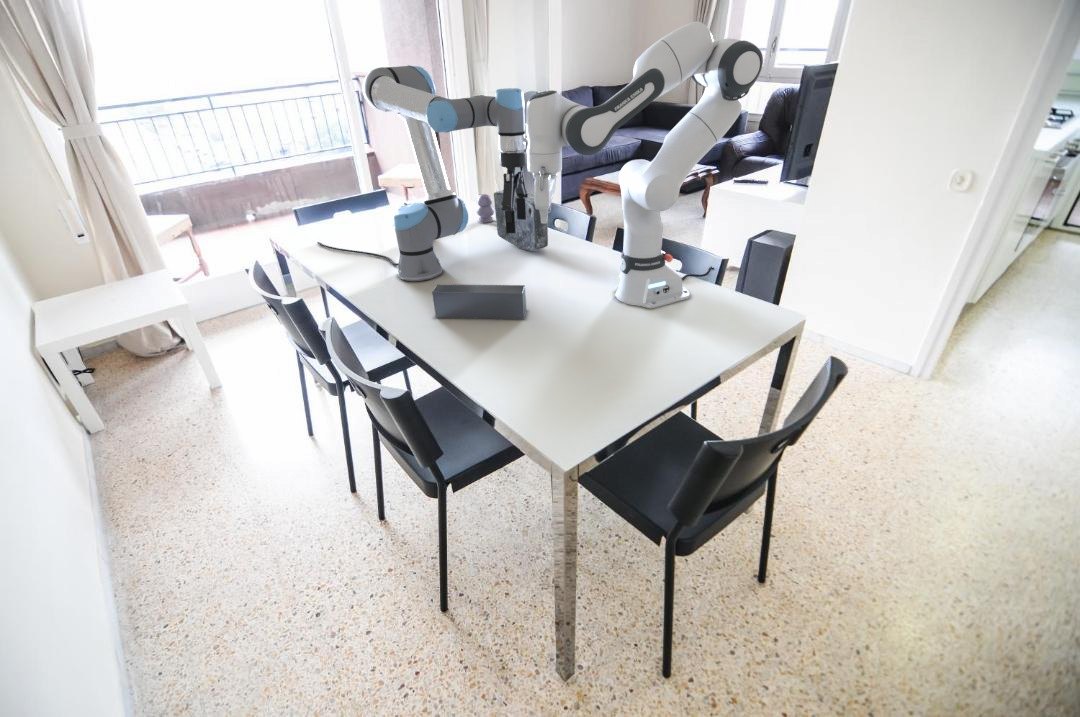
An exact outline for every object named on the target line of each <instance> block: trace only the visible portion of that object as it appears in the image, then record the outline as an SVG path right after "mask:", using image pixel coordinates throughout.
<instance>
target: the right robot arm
mask: <svg viewBox="0 0 1080 717" xmlns="http://www.w3.org/2000/svg"><path fill="white" fill-rule="evenodd" d="M763 65H764V55H763V53H762V51H761V49H760V48H759V47H758V45H756V44H754V43H753V42H751V41H748V40H740V39H736V38H727V37H726V38H713V35H712V32H711V30H710V29H709V27H708V26H707V25H706V24H705V23H703V22H701V21H692V22H691V21H690V22H689V23H687V24H684V25H682V26H680V27H678V28H676V29H674V30H673V31H671V32H668V34H666V35H664V36H663V37H661V38H659V39H658V40H657V41H656V42H654V43H653V44H652V45H651V46H649V47H648V48H647V49H645V50H644V51H643V52H642V54H640V55H639V56H638V58H637V59H636V60H635V63H634V65H633V71H632V75H633V77H632V79H631V81H630V82H628V84H627V85H626V86H624V87H622V89H620V90H618V92H616V93H615V94H613V95H612V96H611V97H610V98H609V99H607V100H606V101H605V102H603V103H602V104H599V105H596V106H591V107H590V106H586V105H583V104H580V103H577V102H574V101H572V100H571V99H568V98H567V97H565V96H564V95H562V94H561V93H559V92H558V91H557V90H552V89H551V90H545V91H540V92H537V93H534V94H532V95H531V96H530V97H529V98H528V100H527V103H526V106H525V136H526V138H527V146H526V162H527V163H526V165H527V172H528V173H530V174H532V178H533V179H534V188H533V189H534V190H533V191H534V195H535V208H536V209H538V210H539V212H540V217H541V223H542V224H546V223H547V222H548V223H549V214H551V212H552V201H553V197H554V194H555V191H556V186H557V178H558V173H559V172H562V170H563V147H564V146H570V147H571V149H572V150H573V151H575V153H577V154H579V155H582V156H592V155H596V154H598V153H600V152H601V151H602V150H603V149H605V147H606V146H607V144H608V143H609V141H610V140H611V138H612V137H613V136H614V134H615V133H616V131H618V130H619V129H620V128H621V127H622V126H623V125H625V124H626V123H627V122H628V121H630V120H631V119H632V118H634V117H635V116H636V115H638V114H639V113H640V112H642V110H644V109H645V108H647V107H648V106H649V105H650V104H651V103H652V102H654V101H655V100H657V99H659V98H660V97H662V96H664V95H665V94H667V93H669V92H670V91H671V90H674V89H675V88H677V86H678V87H679V85H680V84H682V83H683V82H685V81H686V80H687V79H689V78H691V80H692V81H694V83H696V84H697V85H699V86H701V87H705V89H704V92H703V94H702V96H701V98H700V99H699V100H698V102H697V104H696V105H694V107H692V108H691V109H690V110H689V111H688V112H687V113H686V114H685V115H684V116H683V117H682V118H681V119H680V120H679V121H678V122H677V123H676V125H675V126H674V127H673V128H672V129H671V130H670V131H669V132H668V133H667V134H666V135H665V137H664V139H663V143H662V145H661V147H660V149H659V150H658V152H657V154H656V155H655V157H654V158H653V159H652V160H651V161H649V160H646V159H643V158H642V159H640V158H639V159H632V160H629V161H628V162H626V163H625V164H624V165H623V166H622V167H621V169H620V171H619V173H618V184H619V187H620V194H621V195H620V196H621V207H622V217H623V244H622V246H623V250H622V251H621V255H620V270H621V271H620V274H619V275H618V278H619V281H618V286H617V288H616V292H615V293H614V294H615V298H616V299H617V300H618V301H620V302H622V303H624V304H627V305H630V306H639V307H644V308H646V309H654V308H659V307H662V306H666V305H669V304H670V305H671V304H674V303H677V302H681V301H684V300H688V299H690V292H689V290H688V289H687V288H686V286H684V285H683V284H684V283H683V281H684V280H685V279H686V278H688V277H695V278H697V277H699V278H701V277H705V276H707V275H709V274H710V272H711V271H712V270H715V268H714V267H713V268H712V265H710V266H709V268H708V270H707V272H705V273H702V274H698V273H697V274H695V273H688V274H685V275H684V276H681V274H680V273H679V272H678V271H679V270H678V269H675V268H673V267H671V265H669V264H668V263H671V262H672V261H673V259H674V258H673V255H671V254H670V253H666V252H665V251H663V250H662V246H663V236H664V223H663V220H662V216H661V215H662V214H661V212H665V211H667V210H669V209H671V208H672V207H673V206H674V205H675V204H676V202H677V201H678V199H679V196H680V190H681V187H682V185H683V183H684V182H685V181H686V179H687V177H688V176H689V174H690V173H691V172H692V170H693V169H694V168H695V166H696V165H697V164H698V163H699V162H700V161H701V160H702V159H704V156H706V155H707V154H708V152H709V151H711V150H712V149H713V147H714V146H715V145H716V144H717V143H718V142H719V141H721V139H722V138H723V137H725V135H726V134H727V132H729V130H730V128H732V126H733V125H734V123H735V122H736V121H737V119H738V118H739V116H740V115H741V113H742V102H741V99H743V98H744V97H745V96H747V95H748V94H749V92H750V89H751V88H752V87H753V85H755V83H756V81H757V80H758V78H759V76H760V74H761V72H762V70H763ZM666 262H667V263H666Z"/></svg>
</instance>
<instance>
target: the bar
mask: <svg viewBox="0 0 1080 717" xmlns="http://www.w3.org/2000/svg"><path fill="white" fill-rule="evenodd" d="M431 294H432V301H433V308H434V313H435V314H434V315H435V318H436V319H461V320H462V319H465V320H466V319H467V320H469V319H470V320H471V319H473V320H520V321H521V320H525V318H526V314H527V298H526V285H524V284H522V285H521V284H439V283H438V284H436V286H435V287H434V289H433V290H432V292H431Z"/></svg>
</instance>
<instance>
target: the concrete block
mask: <svg viewBox="0 0 1080 717" xmlns="http://www.w3.org/2000/svg"><path fill="white" fill-rule="evenodd" d="M527 194H528V197H524V198H525V200H526V220H518V219H517V201H516V198H519V197H517V194H516V193H515V201H514V210H515V224H516V233H506V219H505V211H502V207H503V189H501V190H498V191H497V190H496V191H495V192H493V202H494V214H495V222H496V224H495V225H496V231H497V232H496V233H497V236H498V237H499V238H501V239H503V240H505V241H506V242H508V243H510V244H511V245H513V246H515V247H517V248H518V249H521V250H524V251H530V252H537V251H539V250H541V249H544V248H547V247H548V246H549V228H548V223H549V221H548V222H547V223H546V224H542V223H541V217H540V212H539V210H538V209H536V208H535V194H533V193H531V192H530V193H529V192H527ZM508 206H509V205H508Z"/></svg>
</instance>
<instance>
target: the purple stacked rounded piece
mask: <svg viewBox="0 0 1080 717" xmlns="http://www.w3.org/2000/svg"><path fill="white" fill-rule="evenodd" d="M476 196H477V199H476V203H477V205H478V206H477V207H476V214H477V215H478V216H479V218H478V221H479V223H481V224H488V223H492V222H493V221H494V217H493V216H494V214H495V207H494V206H493V205H492V204H493V198H492V197H491V196H490V195H489V194H487V193H483V194H480V193H476Z"/></svg>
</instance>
